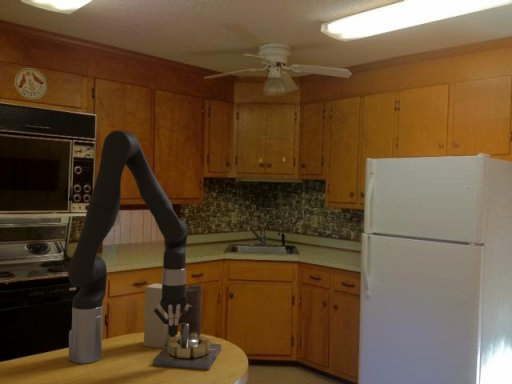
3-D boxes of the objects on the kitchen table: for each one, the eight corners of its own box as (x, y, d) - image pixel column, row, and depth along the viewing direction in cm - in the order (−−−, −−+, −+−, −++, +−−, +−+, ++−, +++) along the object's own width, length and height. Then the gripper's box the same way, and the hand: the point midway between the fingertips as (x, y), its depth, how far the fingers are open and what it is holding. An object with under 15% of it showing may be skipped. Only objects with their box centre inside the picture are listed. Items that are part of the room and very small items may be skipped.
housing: (153, 365, 148) (154, 346, 148) (171, 346, 166) (171, 329, 166) (209, 370, 146) (209, 350, 146) (221, 349, 164) (221, 332, 164)
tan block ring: (162, 356, 150) (163, 323, 150) (175, 342, 164) (176, 312, 163) (204, 359, 148) (205, 326, 148) (213, 345, 162) (214, 314, 162)
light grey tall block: (173, 342, 170) (174, 284, 170) (164, 348, 163) (165, 288, 163) (153, 339, 172) (154, 282, 172) (143, 346, 165) (144, 286, 165)
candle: (202, 343, 170) (204, 288, 170) (182, 345, 167) (184, 289, 167) (197, 336, 177) (198, 283, 177) (178, 338, 175) (179, 284, 174)
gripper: (153, 285, 143) (152, 341, 144) (196, 283, 147) (195, 338, 147) (151, 280, 150) (150, 334, 151) (192, 278, 154) (191, 331, 155)
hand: (172, 336), depth 149 cm, fingers closed
